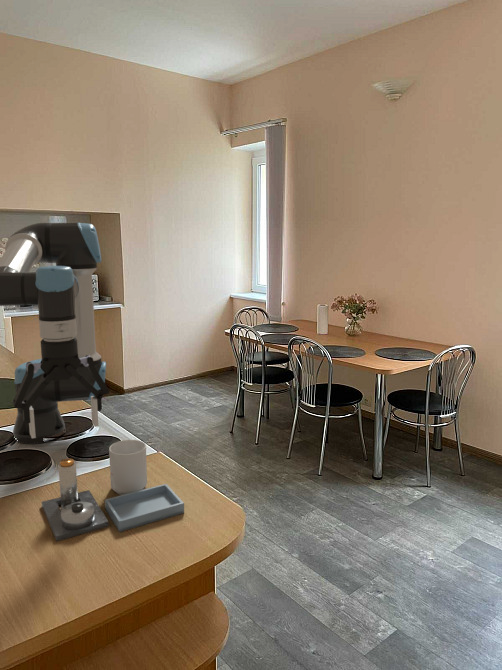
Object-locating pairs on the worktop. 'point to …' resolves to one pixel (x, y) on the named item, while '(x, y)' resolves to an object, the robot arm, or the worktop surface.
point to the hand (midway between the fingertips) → (64, 430)
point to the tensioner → (74, 516)
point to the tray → (143, 507)
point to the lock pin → (68, 482)
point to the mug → (128, 466)
